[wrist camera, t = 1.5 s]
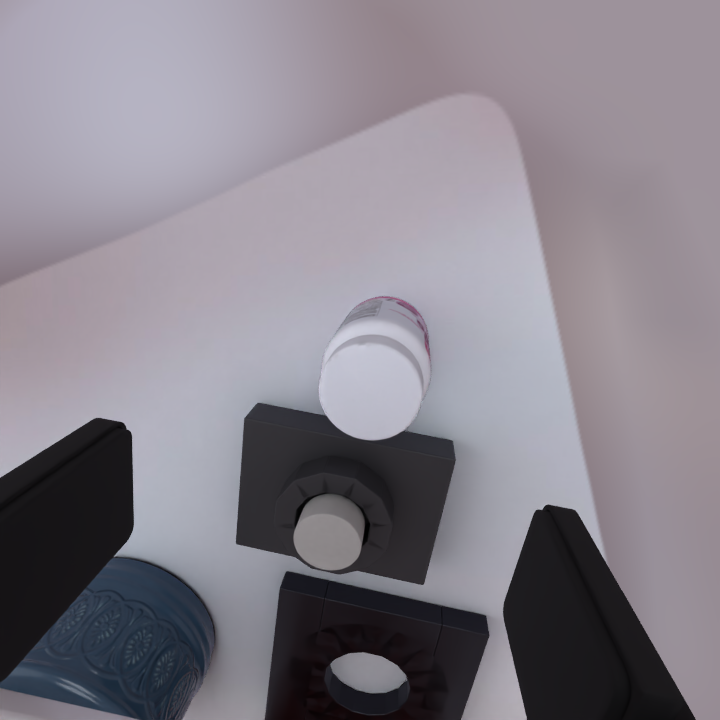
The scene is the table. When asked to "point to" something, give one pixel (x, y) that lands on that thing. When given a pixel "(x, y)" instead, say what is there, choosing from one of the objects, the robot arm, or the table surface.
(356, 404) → the pill bottle
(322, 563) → the button
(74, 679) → the canister
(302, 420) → the control block
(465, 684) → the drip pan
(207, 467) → the table surface
